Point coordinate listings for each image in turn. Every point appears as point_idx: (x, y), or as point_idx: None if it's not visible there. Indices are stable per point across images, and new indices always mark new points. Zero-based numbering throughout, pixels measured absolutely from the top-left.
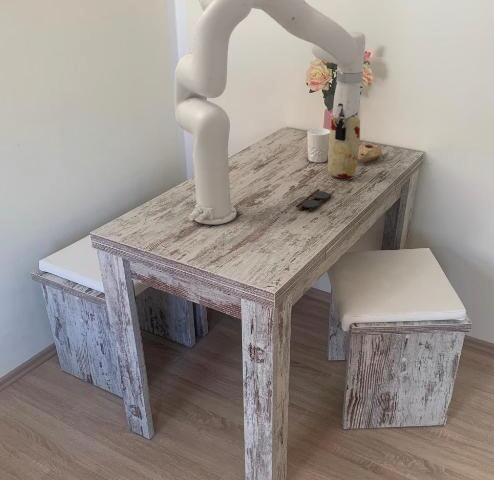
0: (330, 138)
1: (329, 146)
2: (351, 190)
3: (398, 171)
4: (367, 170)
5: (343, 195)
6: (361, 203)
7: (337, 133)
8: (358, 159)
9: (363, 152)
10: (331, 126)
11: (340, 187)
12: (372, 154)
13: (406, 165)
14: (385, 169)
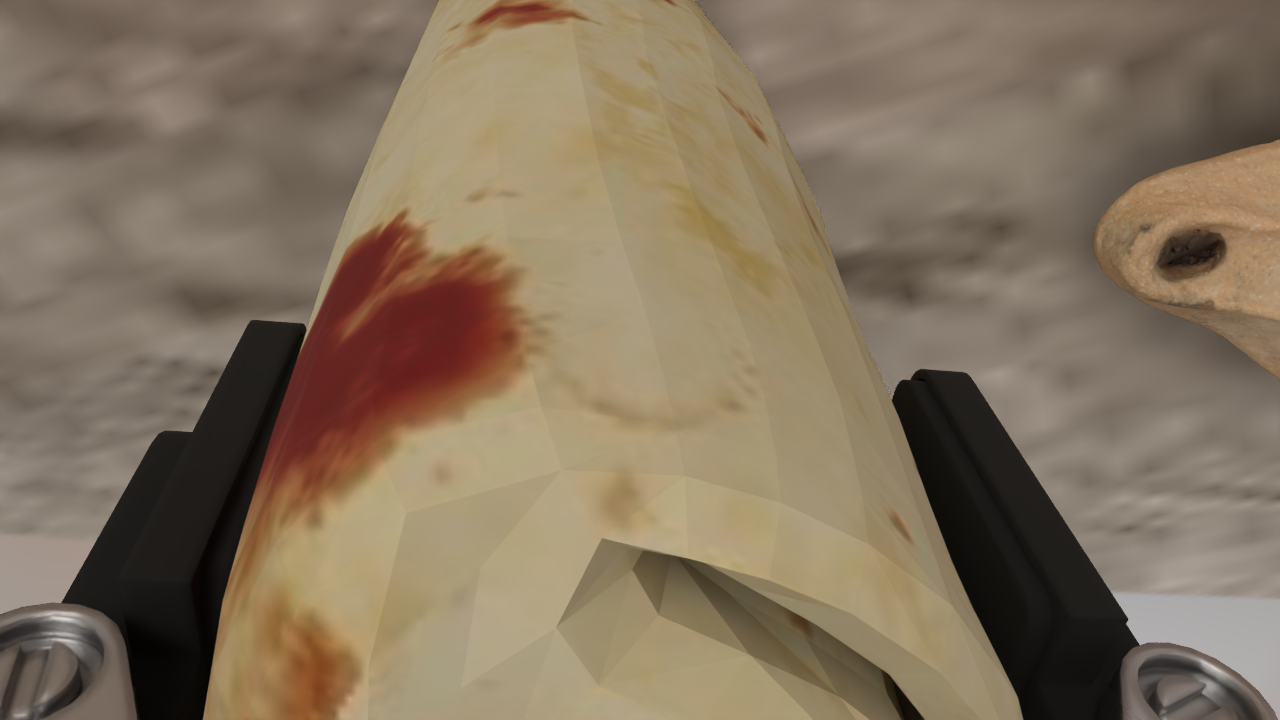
0: (403, 100)
1: (452, 10)
2: (272, 313)
3: None
4: (952, 297)
5: (79, 279)
6: (20, 488)
7: (121, 514)
8: (1136, 184)
9: (1258, 256)
10: (377, 267)
11: (282, 172)
12: (1263, 340)
13: (1173, 578)
14: (1024, 449)
